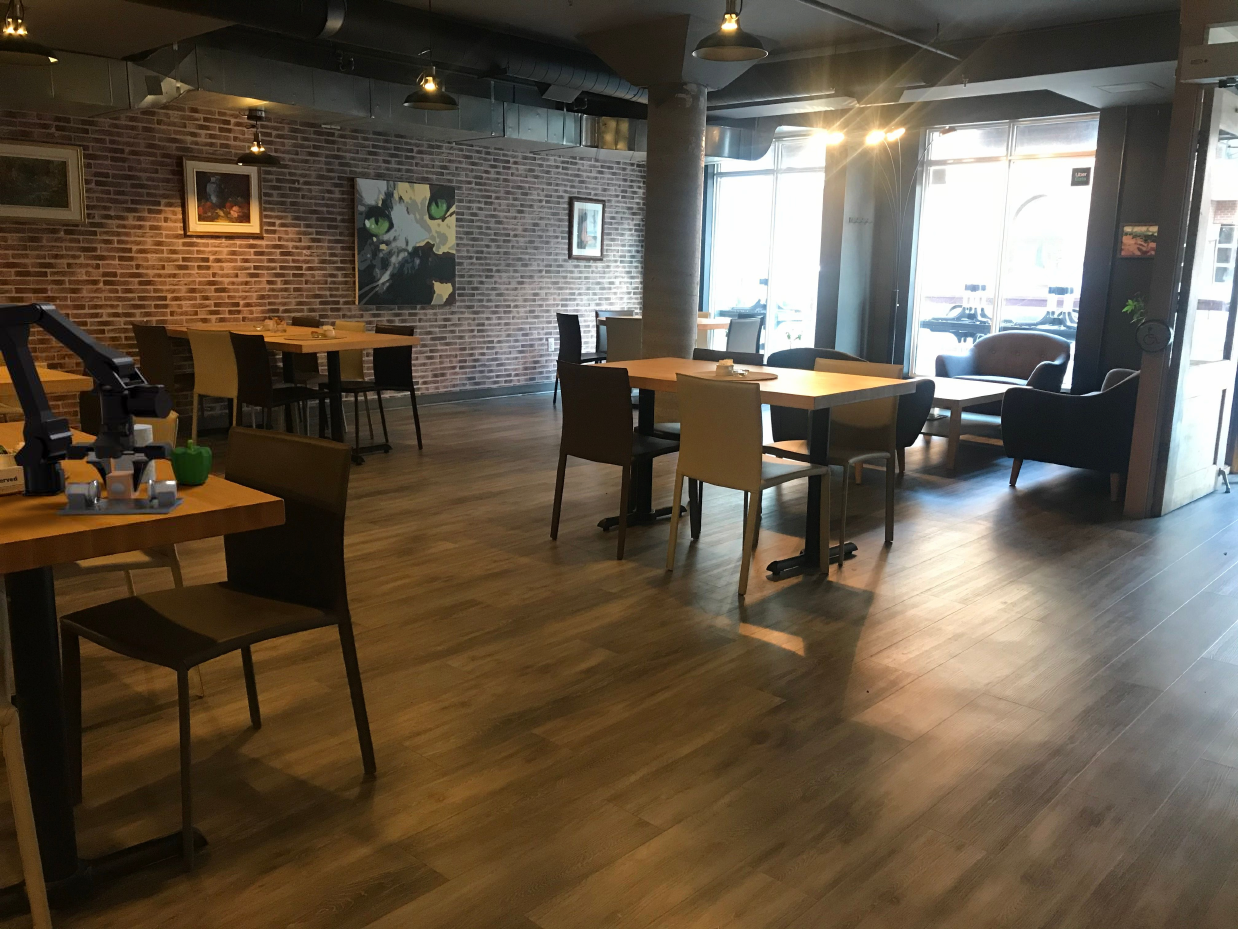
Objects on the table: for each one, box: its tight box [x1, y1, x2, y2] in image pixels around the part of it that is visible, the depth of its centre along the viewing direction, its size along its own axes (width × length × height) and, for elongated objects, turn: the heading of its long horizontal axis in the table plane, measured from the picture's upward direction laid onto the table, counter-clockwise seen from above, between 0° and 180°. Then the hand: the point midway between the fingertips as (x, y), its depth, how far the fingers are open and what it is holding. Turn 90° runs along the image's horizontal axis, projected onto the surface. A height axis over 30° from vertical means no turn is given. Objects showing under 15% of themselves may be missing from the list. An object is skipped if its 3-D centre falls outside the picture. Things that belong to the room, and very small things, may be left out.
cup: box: [112, 423, 156, 484], centre depth 214 cm, size 8×8×12 cm
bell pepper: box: [169, 439, 213, 486], centre depth 213 cm, size 8×8×10 cm
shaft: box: [146, 479, 178, 506], centre depth 191 cm, size 5×5×5 cm
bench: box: [56, 479, 185, 516], centre depth 190 cm, size 20×10×6 cm, turn 99°
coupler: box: [106, 470, 140, 499], centre depth 199 cm, size 7×4×5 cm, turn 9°
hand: (123, 492), depth 199 cm, fingers closed on coupler, 4 cm apart
